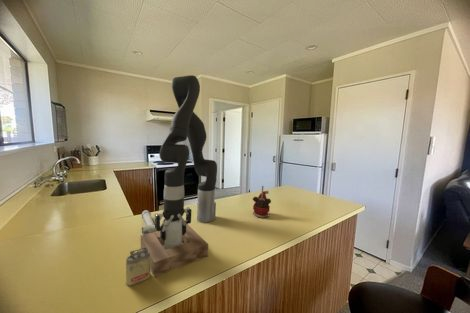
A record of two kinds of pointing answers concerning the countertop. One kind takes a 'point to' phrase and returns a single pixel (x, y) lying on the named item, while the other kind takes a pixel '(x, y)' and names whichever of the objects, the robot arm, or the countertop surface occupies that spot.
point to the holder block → (174, 251)
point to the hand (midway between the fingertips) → (173, 236)
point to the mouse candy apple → (261, 205)
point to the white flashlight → (148, 223)
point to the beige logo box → (138, 266)
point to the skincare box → (173, 234)
